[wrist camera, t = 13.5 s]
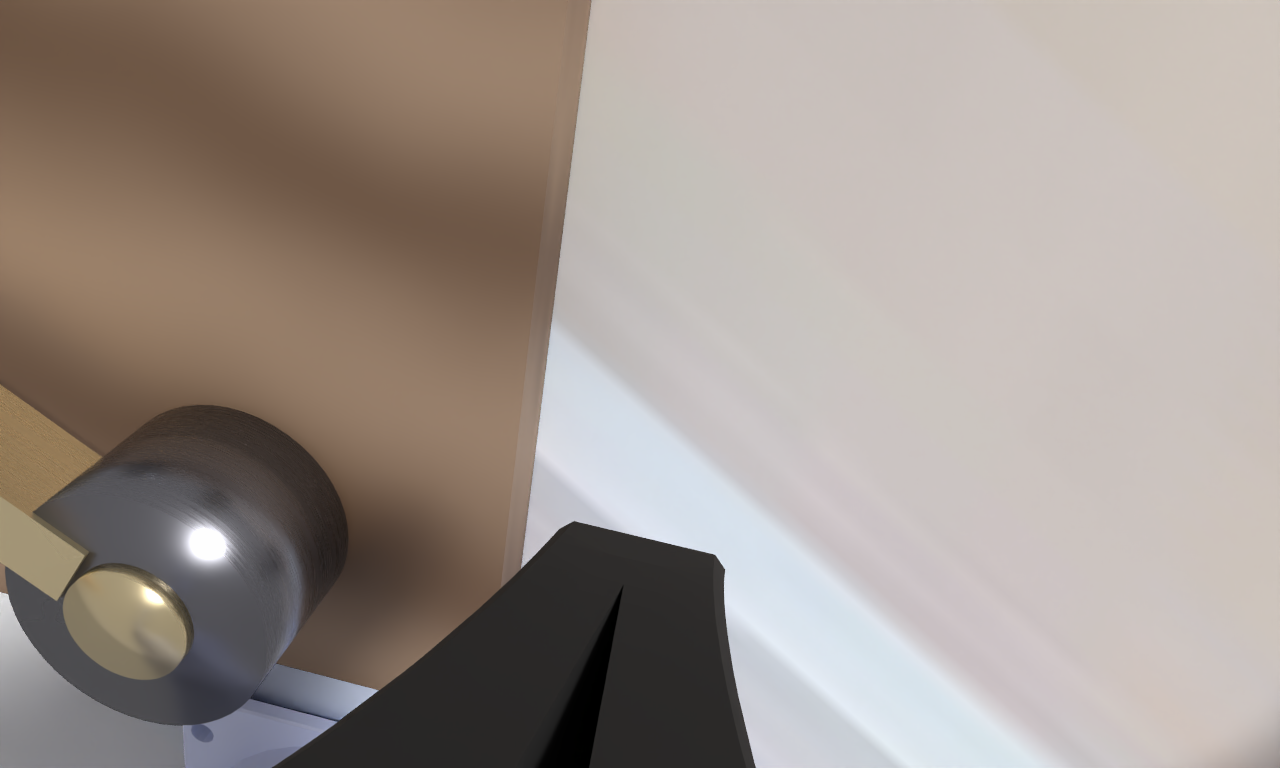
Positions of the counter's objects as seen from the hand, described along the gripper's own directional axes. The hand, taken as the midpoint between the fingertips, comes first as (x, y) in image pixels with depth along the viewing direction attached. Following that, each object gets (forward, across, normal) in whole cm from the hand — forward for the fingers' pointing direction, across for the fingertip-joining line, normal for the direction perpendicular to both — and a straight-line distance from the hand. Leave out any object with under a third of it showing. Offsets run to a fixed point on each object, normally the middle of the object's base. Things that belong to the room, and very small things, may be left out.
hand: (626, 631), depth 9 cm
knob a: (+8, +11, +4) cm, 14 cm away
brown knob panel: (+9, +12, -1) cm, 15 cm away
